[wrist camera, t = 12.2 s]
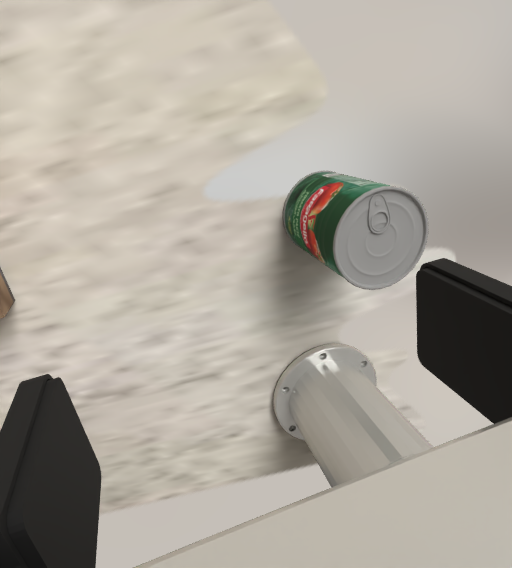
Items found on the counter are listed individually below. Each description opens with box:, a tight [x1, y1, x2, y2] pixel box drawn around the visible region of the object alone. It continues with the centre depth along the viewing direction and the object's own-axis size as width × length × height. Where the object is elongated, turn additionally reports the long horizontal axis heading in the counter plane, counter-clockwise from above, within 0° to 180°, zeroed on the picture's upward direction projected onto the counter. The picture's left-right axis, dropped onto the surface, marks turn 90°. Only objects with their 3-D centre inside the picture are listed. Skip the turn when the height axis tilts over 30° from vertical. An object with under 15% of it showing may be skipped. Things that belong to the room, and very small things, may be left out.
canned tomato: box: [283, 171, 428, 290], centre depth 36 cm, size 8×8×11 cm
